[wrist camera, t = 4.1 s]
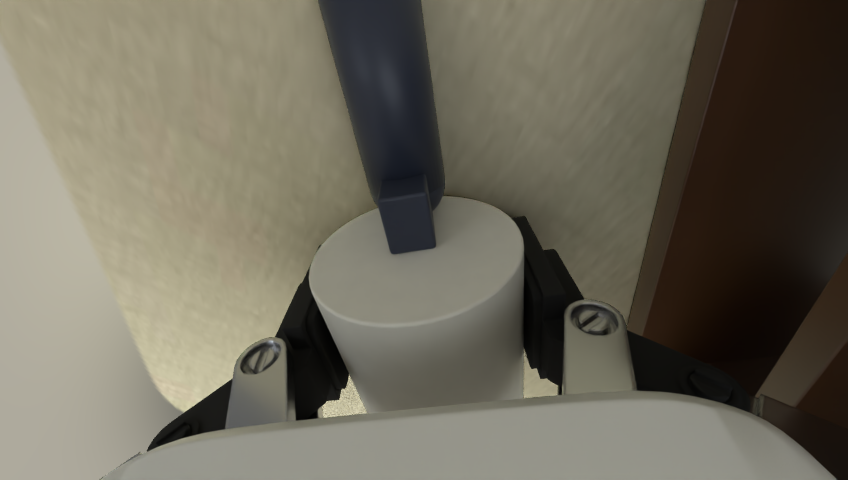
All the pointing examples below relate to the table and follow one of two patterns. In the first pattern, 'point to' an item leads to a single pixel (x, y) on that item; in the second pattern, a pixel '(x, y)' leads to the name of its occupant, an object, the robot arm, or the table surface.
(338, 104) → the table surface
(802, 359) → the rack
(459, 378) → the lint roller
